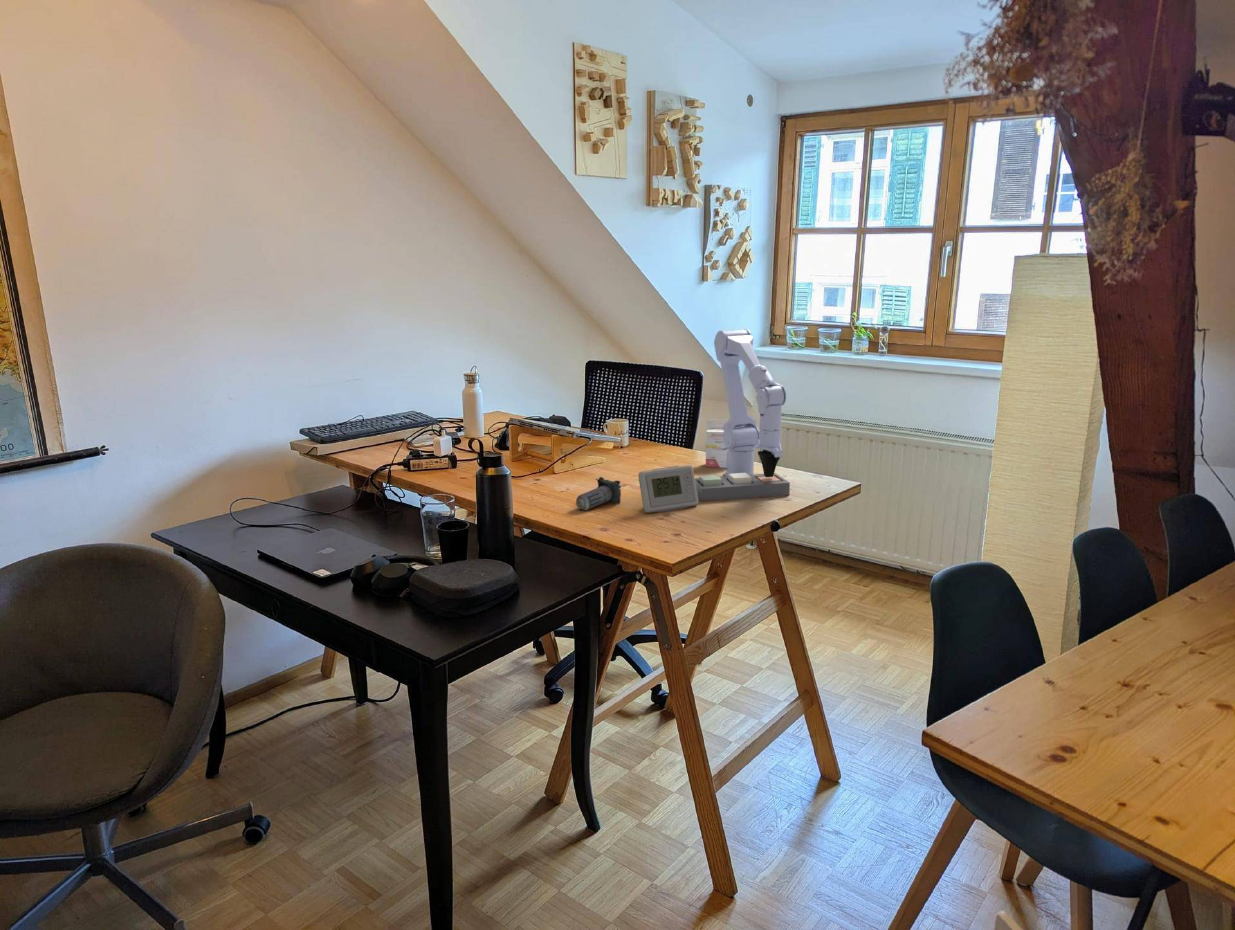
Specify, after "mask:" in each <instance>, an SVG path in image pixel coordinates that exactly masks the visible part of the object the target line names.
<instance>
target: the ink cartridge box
mask: <svg viewBox="0 0 1235 930" xmlns="http://www.w3.org/2000/svg"><path fill="white" fill-rule="evenodd" d="M728 420H729V419H707V420H706V429H705V467H706V468H726V467H727V452H728V450H729V449H727V447H726V446H725V444H724V440H723V435H724V429H723V426H724V424H725V423H726V422H727V421H728ZM719 423H721V424H719Z"/></svg>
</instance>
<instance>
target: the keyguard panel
mask: <svg viewBox="0 0 1235 930" xmlns="http://www.w3.org/2000/svg"><path fill="white" fill-rule="evenodd" d="M749 476H751V483H745V484H733V483H731V482H730V481H729V480H728V478H729V476H725V475H722V476H719V477H720V478H721V479H722V485H716V486H703V485H702V484H701V483H700V482H699V477H697V478H696V477H695V483H696V489H697V495H698V500H700V501H701V502H710V501H711V502H713V501H724V500H736V499H737V500H739V499H751V498H752V499H753V498H766V497H767V498H768V497H781V496H790V486H791V485H790V483H791V482H789V481H788V480H786V479H785V478H783V477H782V476H780V475H779V474H777V473H776V472H774V475H773V476H775V477H777V478H778V479H779V480H781V481H774V482H761V481H759V480H758V479H757V477H764V473H756V474H753V475H749Z"/></svg>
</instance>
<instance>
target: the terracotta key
mask: <svg viewBox="0 0 1235 930" xmlns="http://www.w3.org/2000/svg"><path fill="white" fill-rule="evenodd" d="M757 479H758V480H759V481H761V482H774V481H781V480H779V479H778V478H777V477H775V476H773V477H765V476H764V477H757Z"/></svg>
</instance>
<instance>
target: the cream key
mask: <svg viewBox="0 0 1235 930" xmlns="http://www.w3.org/2000/svg"><path fill="white" fill-rule="evenodd" d="M728 480H729V481H730V482H731V483H733V484H745V483H751V476H749V475H748V474H747V473H734V474H729V478H728Z"/></svg>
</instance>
